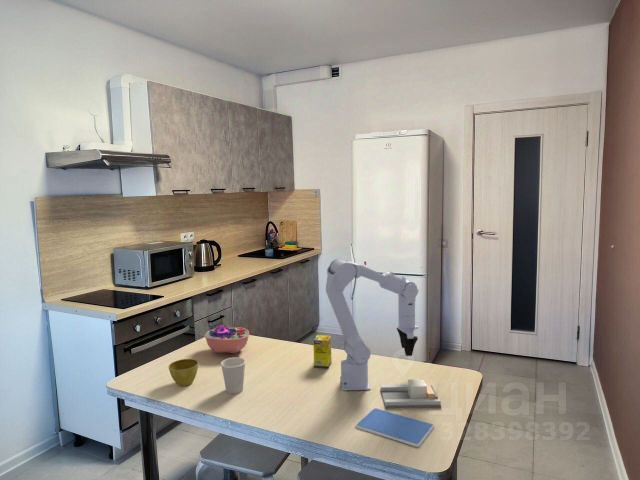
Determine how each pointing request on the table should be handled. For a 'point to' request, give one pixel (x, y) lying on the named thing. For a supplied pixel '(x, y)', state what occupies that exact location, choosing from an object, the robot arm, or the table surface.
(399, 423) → the tablet computer
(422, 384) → the block
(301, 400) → the table surface
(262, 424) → the table surface
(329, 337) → the supplement box
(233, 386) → the dixie cup
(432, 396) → the block
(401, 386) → the rail mount
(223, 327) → the cell model
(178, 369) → the flower pot
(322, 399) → the table surface
